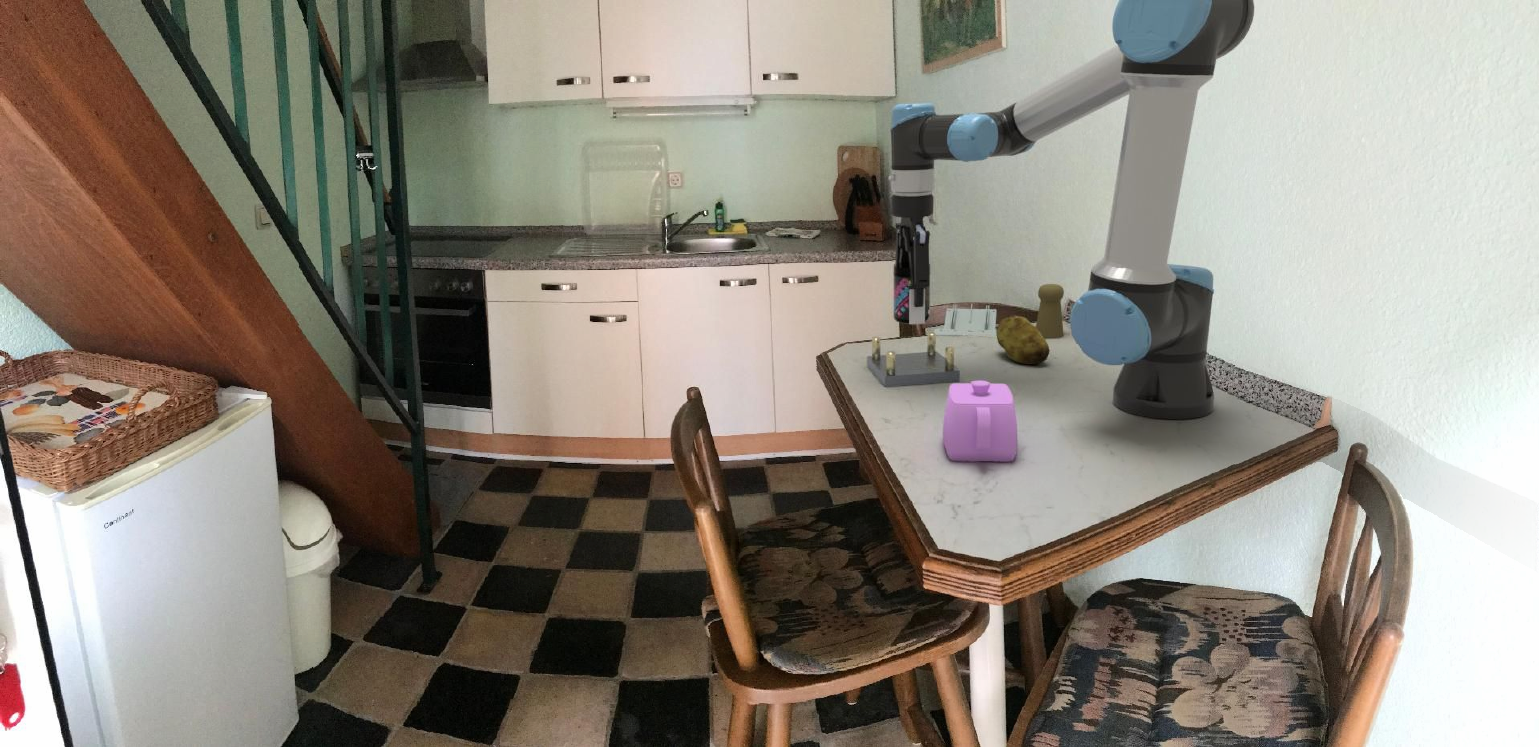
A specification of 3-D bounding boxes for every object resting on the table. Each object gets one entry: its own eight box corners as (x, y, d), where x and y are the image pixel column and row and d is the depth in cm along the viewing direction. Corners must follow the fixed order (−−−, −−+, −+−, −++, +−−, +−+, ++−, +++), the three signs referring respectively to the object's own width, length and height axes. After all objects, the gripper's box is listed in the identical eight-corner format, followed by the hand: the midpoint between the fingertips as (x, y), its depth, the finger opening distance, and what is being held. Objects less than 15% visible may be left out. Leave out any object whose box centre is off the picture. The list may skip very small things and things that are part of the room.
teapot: (940, 426, 141) (941, 364, 139) (1009, 427, 140) (1011, 364, 137) (944, 470, 124) (945, 400, 121) (1022, 472, 123) (1025, 401, 120)
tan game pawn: (1040, 339, 189) (1042, 288, 186) (1030, 332, 195) (1032, 282, 192) (1068, 337, 190) (1071, 286, 187) (1056, 331, 195) (1059, 281, 192)
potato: (1008, 369, 169) (1009, 328, 167) (991, 351, 182) (992, 313, 180) (1052, 367, 169) (1054, 326, 167) (1032, 349, 182) (1034, 311, 179)
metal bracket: (938, 299, 206) (1005, 300, 202) (938, 321, 209) (1005, 323, 205) (932, 331, 194) (1004, 332, 190) (933, 354, 197) (1003, 356, 193)
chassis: (959, 381, 163) (960, 349, 162) (884, 387, 162) (884, 355, 160) (936, 361, 177) (936, 331, 175) (867, 366, 175) (866, 336, 174)
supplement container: (892, 316, 170) (892, 262, 167) (928, 315, 169) (928, 261, 166) (894, 324, 164) (894, 268, 161) (931, 324, 163) (932, 267, 160)
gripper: (878, 189, 169) (878, 309, 175) (906, 199, 150) (906, 332, 157) (917, 187, 170) (916, 306, 176) (950, 197, 151) (947, 330, 157)
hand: (911, 318), depth 166 cm, fingers closed on supplement container, 7 cm apart
